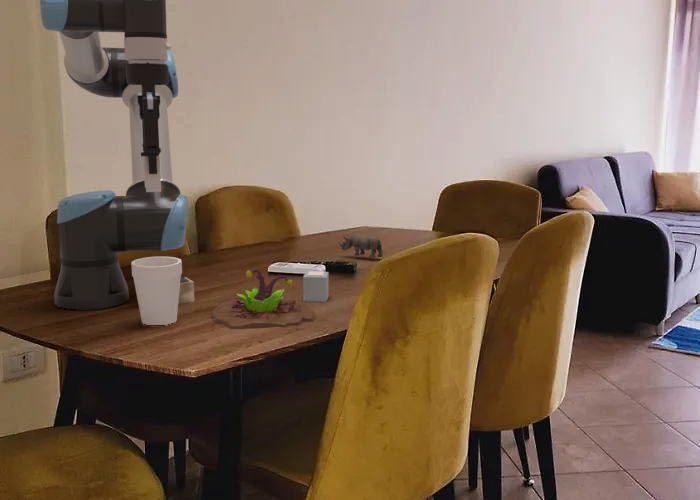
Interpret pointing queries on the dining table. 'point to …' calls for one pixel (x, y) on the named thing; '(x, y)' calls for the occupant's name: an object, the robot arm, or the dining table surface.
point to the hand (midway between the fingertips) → (152, 189)
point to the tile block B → (315, 286)
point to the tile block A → (186, 291)
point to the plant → (262, 308)
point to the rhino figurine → (362, 244)
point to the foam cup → (157, 288)
